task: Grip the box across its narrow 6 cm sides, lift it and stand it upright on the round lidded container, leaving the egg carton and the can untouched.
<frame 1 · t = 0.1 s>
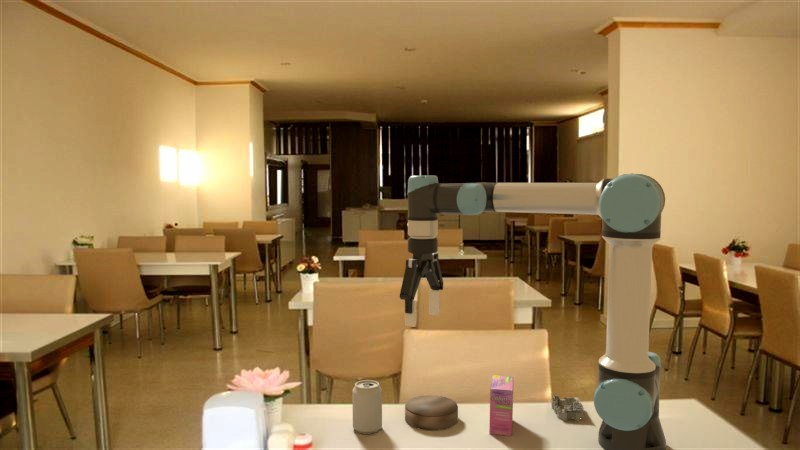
hand: (422, 320, 154), 28 cm above the table, fingers open, 13 cm apart
box: (501, 427, 156), on the table
round lidded container: (431, 419, 160), on the table
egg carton: (567, 414, 165), on the table
can: (367, 429, 155), on the table
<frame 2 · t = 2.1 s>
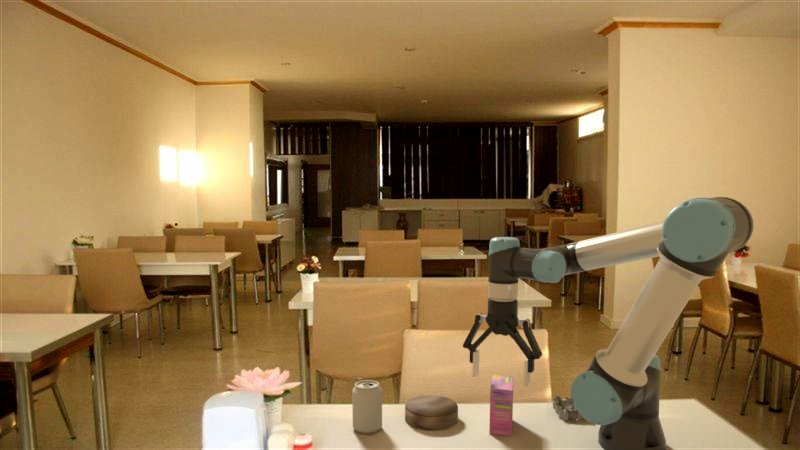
hand: (500, 379, 155), 12 cm above the table, fingers open, 13 cm apart
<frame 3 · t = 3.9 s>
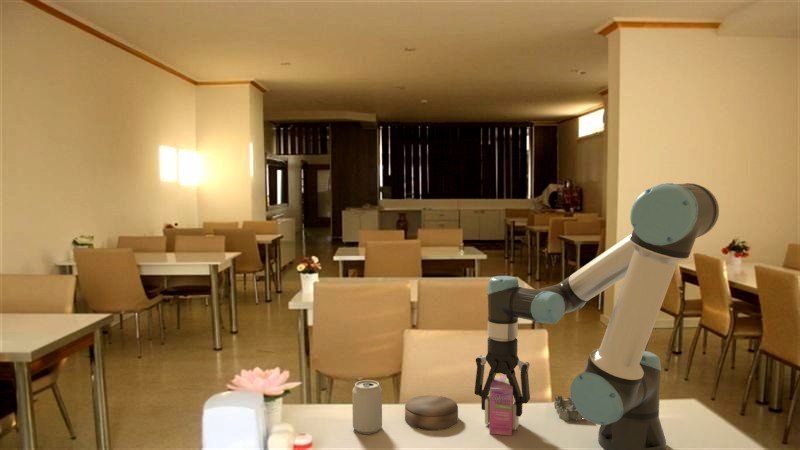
hand: (501, 424, 156), 1 cm above the table, fingers closed on box, 7 cm apart
box: (501, 427, 156), on the table, touching gripper
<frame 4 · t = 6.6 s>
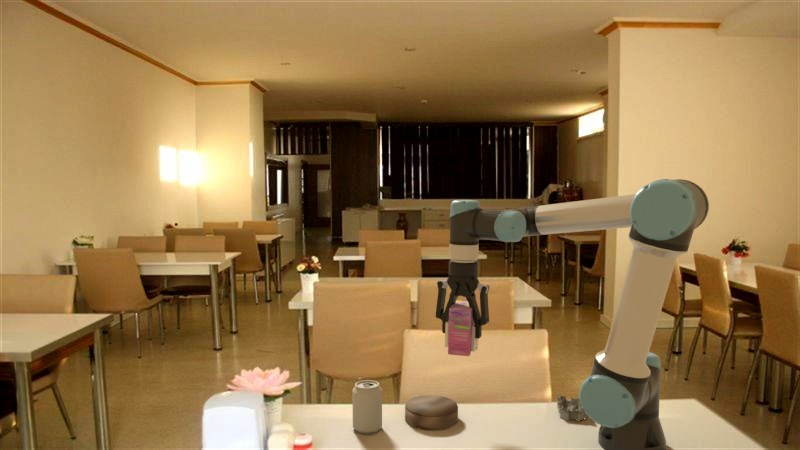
hand: (461, 347, 157), 20 cm above the table, fingers closed on box, 7 cm apart
box: (461, 350, 157), point 19 cm above the table, touching gripper
when the fingers open (6 cm above the table, at t = 9.3 s): box drops 1 cm, resting on round lidded container.
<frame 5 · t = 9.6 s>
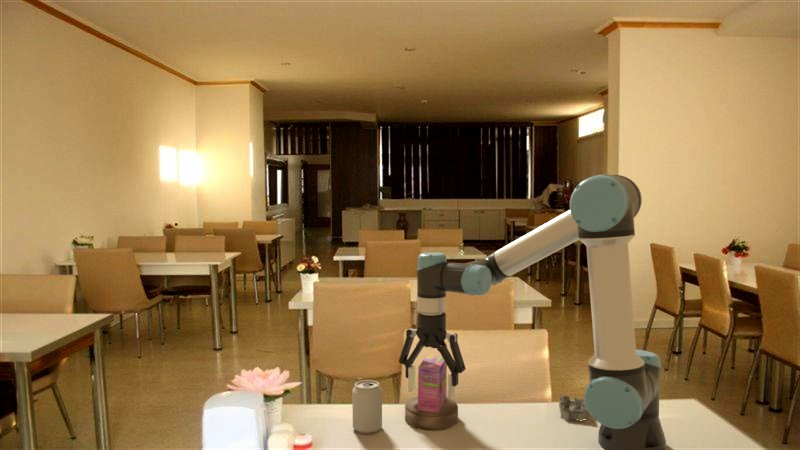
hand: (431, 393, 160), 7 cm above the table, fingers open, 11 cm apart
box: (432, 405, 160), point 4 cm above the table, touching round lidded container
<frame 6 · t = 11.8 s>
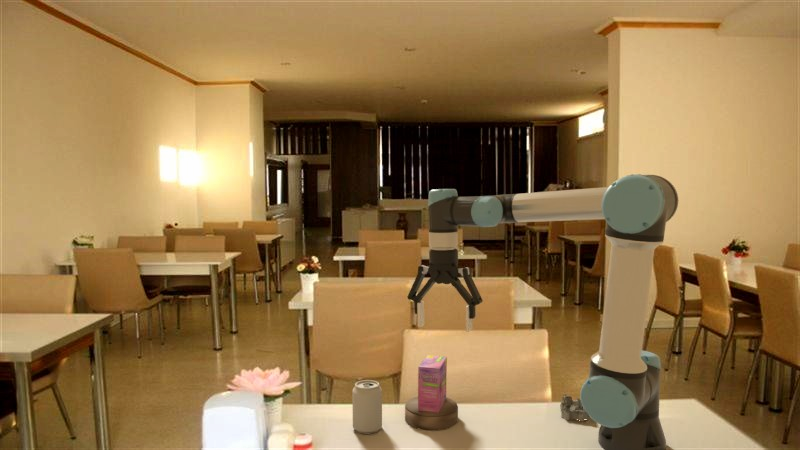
hand: (444, 328, 159), 24 cm above the table, fingers open, 13 cm apart
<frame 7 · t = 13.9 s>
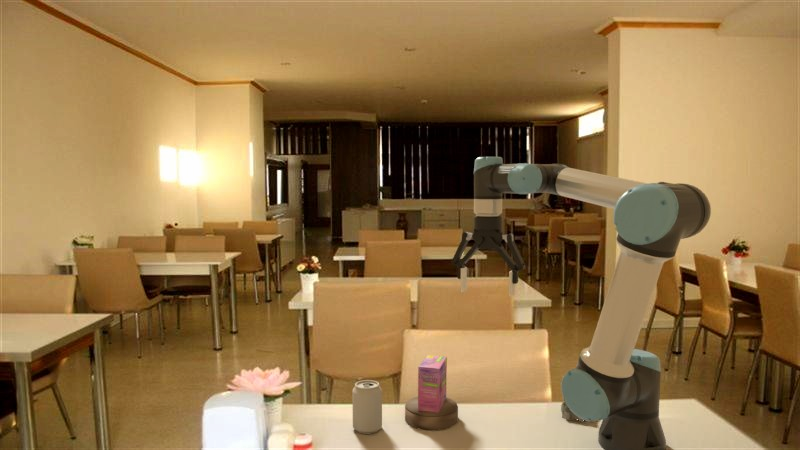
hand: (487, 293, 163), 33 cm above the table, fingers open, 13 cm apart
at the end: box inside the target area on the round lidded container (0.3 cm from its centre), point 3.8 cm above the round lidded container's base; box tilted 0°; the gripper is holding nothing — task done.
